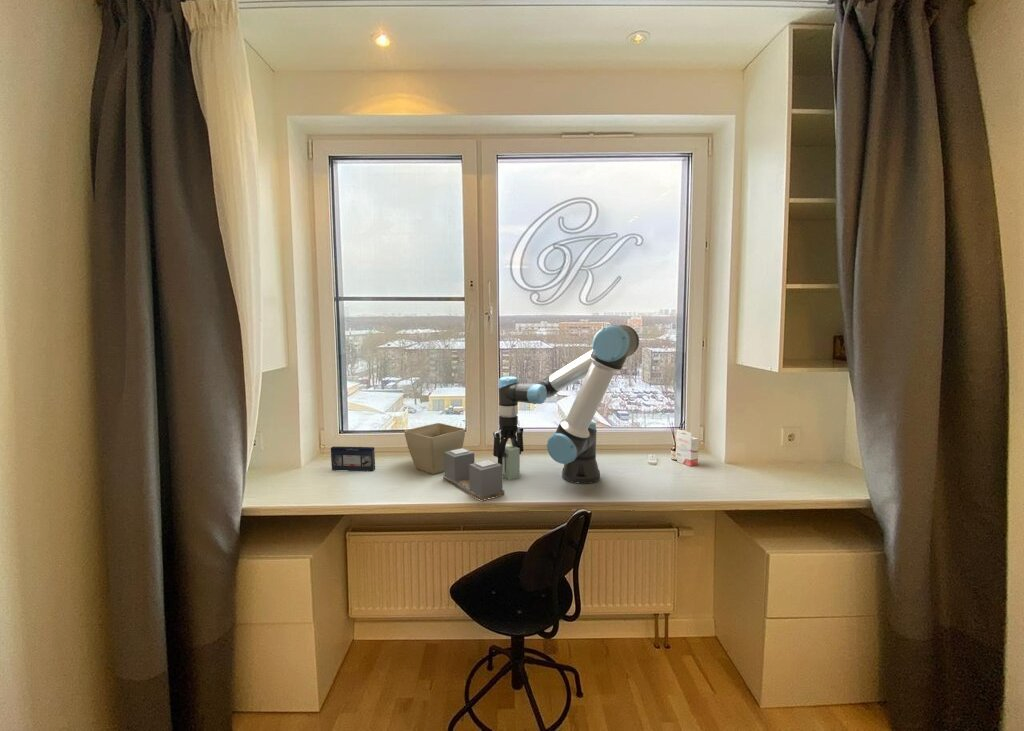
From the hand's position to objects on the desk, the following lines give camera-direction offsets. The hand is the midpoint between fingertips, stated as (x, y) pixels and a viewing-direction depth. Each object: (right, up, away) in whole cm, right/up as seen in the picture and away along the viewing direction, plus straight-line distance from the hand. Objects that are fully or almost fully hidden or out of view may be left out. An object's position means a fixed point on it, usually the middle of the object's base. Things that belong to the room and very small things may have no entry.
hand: (508, 471), depth 183 cm
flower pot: (-31, -1, +10) cm, 33 cm away
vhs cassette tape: (-66, -2, +8) cm, 67 cm away
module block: (0, -2, 0) cm, 2 cm away
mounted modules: (-14, -2, -11) cm, 18 cm away
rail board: (-14, -3, -11) cm, 18 cm away
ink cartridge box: (+78, 0, +15) cm, 79 cm away
